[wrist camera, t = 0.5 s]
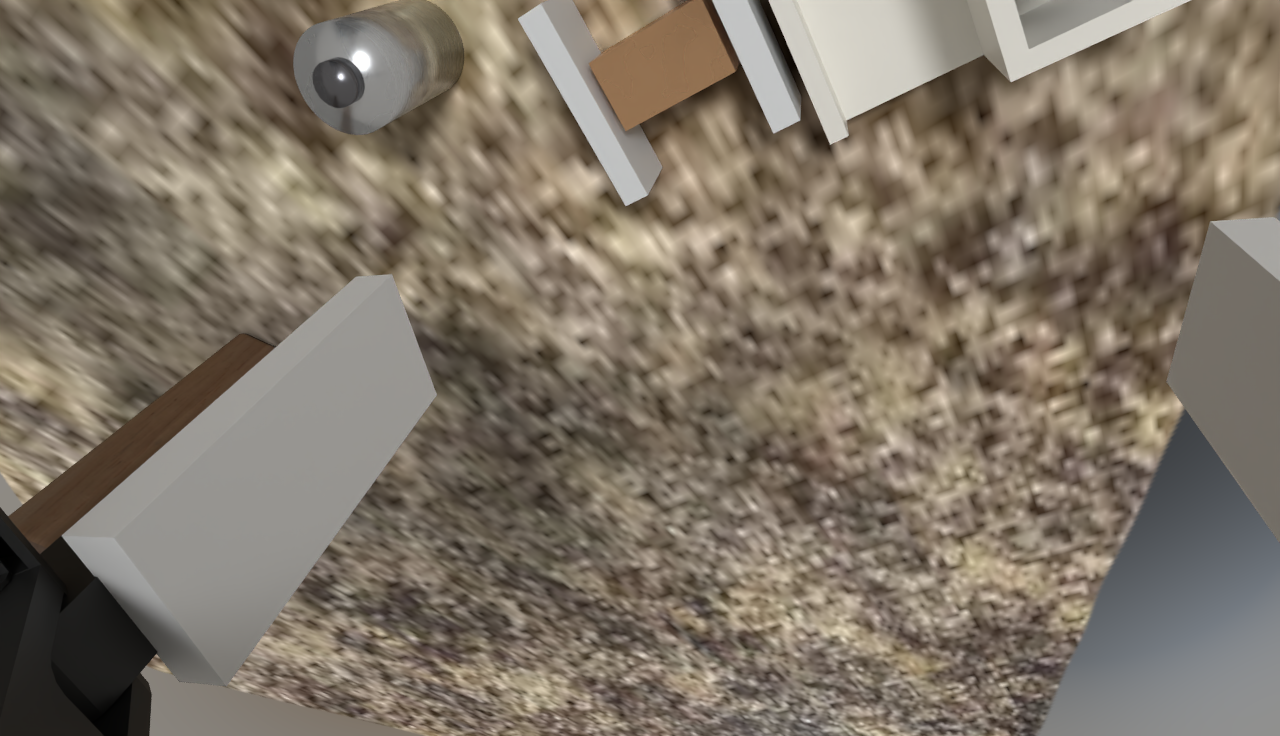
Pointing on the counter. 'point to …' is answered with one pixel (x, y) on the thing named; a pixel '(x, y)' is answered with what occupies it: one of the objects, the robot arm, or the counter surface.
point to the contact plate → (665, 62)
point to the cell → (377, 64)
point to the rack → (935, 42)
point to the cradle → (629, 151)
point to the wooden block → (133, 444)
